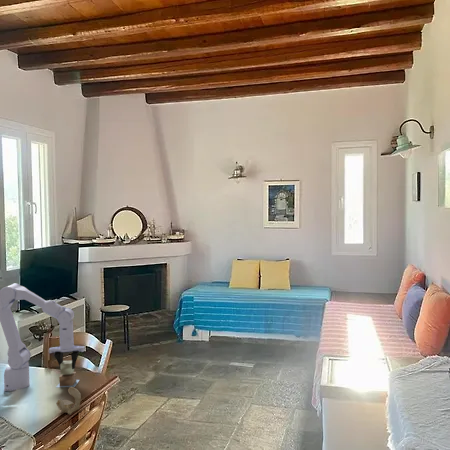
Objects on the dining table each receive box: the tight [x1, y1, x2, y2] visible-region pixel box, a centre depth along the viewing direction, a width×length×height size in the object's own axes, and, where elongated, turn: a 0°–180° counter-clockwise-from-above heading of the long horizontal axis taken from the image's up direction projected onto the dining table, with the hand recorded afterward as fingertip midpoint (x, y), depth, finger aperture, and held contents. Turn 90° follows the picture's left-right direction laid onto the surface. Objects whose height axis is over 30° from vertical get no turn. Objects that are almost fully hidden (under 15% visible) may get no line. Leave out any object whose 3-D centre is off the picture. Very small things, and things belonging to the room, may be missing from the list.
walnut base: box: [58, 371, 77, 386], centre depth 195 cm, size 6×6×4 cm
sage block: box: [59, 359, 75, 375], centre depth 195 cm, size 4×4×4 cm
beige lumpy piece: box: [56, 387, 82, 416], centre depth 168 cm, size 9×6×10 cm
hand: (67, 368), depth 195 cm, fingers closed on sage block, 4 cm apart
